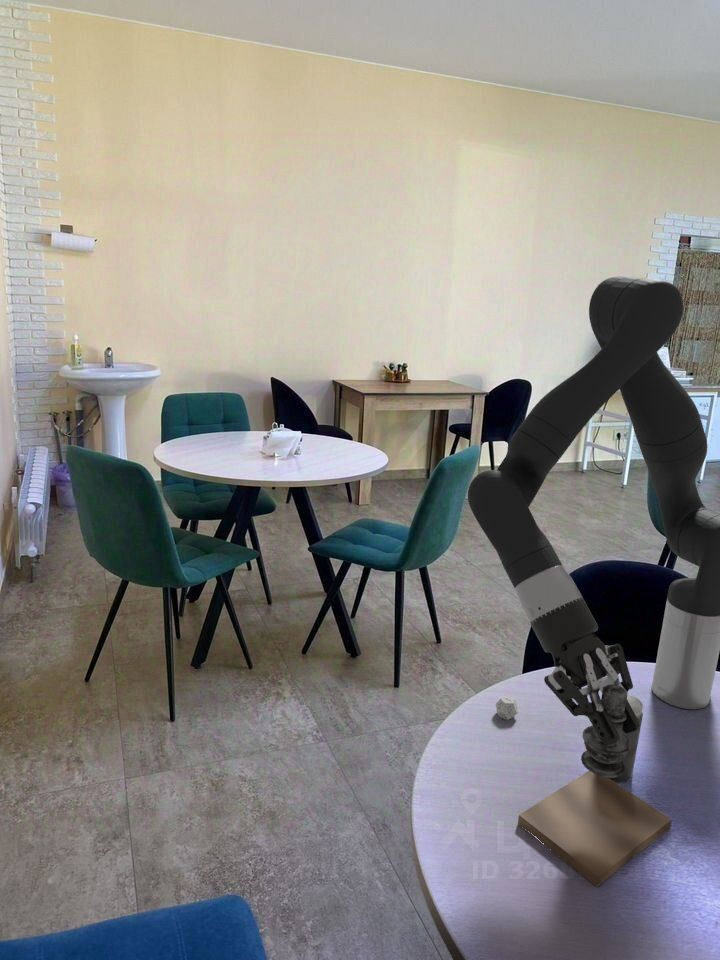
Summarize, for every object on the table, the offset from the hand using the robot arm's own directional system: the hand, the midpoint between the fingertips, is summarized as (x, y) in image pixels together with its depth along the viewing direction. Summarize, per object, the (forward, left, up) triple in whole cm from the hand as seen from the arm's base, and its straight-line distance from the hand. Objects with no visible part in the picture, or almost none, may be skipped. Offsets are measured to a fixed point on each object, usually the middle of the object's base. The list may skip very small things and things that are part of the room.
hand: (623, 736), depth 87 cm
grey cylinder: (-12, -7, -15) cm, 20 cm away
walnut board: (0, -2, -15) cm, 15 cm away
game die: (-9, -25, -15) cm, 31 cm away
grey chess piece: (0, -2, -5) cm, 6 cm away
